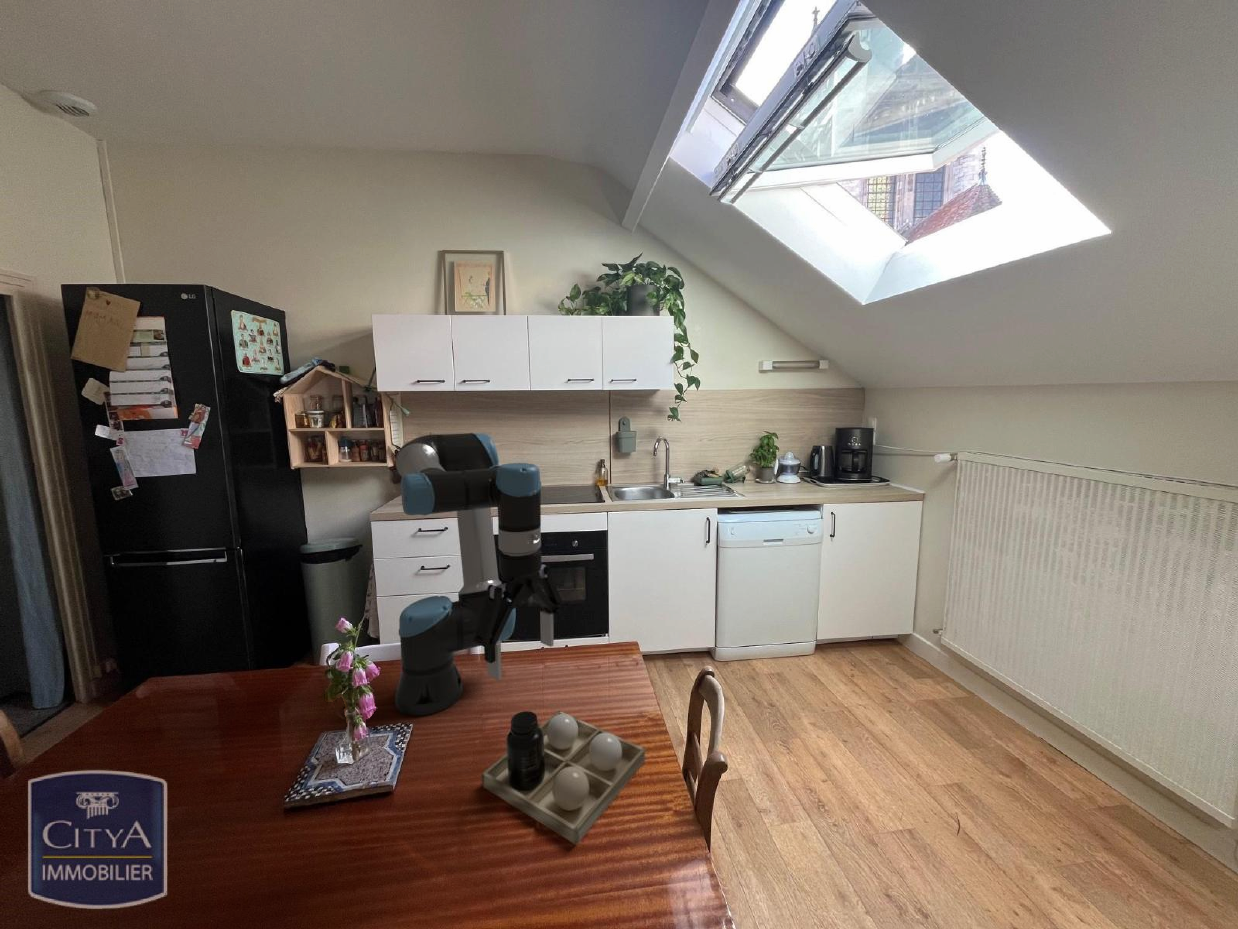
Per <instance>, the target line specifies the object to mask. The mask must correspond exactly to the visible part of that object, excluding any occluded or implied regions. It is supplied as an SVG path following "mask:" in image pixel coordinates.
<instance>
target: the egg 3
mask: <svg viewBox="0 0 1238 929" xmlns="http://www.w3.org/2000/svg"><path fill="white" fill-rule="evenodd" d="M610 733H611V732H608V733H601V734H599V735H597V736H596V737H595V738H594V739H593V740H592V742H591V744H590V746H589V758H590V761H591V763H592V765H593V766H594V767H595V768H596V769H598V770H600V771H610V770H612V769H614V768H615V767H616V766H617V765H618V764H619V762H620V760H621V757H622V747H621V744H620V742H619V740H618V739H617V737H618V736H617V735H615V734H613V733H611V734H610ZM614 735H615V736H614ZM616 736H617V737H616Z"/></svg>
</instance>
